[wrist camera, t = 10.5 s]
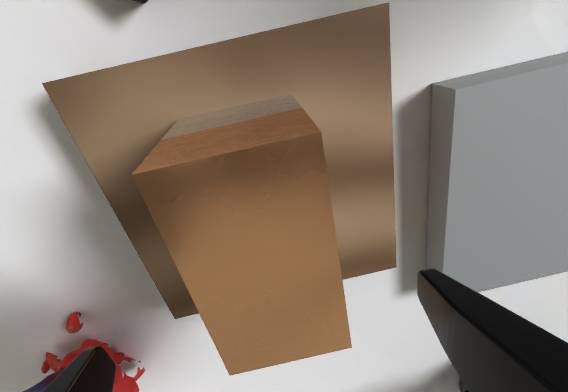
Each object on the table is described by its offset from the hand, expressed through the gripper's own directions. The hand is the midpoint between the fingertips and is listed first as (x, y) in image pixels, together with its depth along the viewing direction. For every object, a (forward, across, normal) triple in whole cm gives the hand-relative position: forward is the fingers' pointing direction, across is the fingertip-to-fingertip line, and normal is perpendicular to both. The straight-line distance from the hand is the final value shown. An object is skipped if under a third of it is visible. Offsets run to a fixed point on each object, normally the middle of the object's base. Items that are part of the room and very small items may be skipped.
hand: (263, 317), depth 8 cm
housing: (+8, 0, 0) cm, 8 cm away
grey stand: (+10, -17, +4) cm, 20 cm away
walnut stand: (+10, 0, 0) cm, 10 cm away
